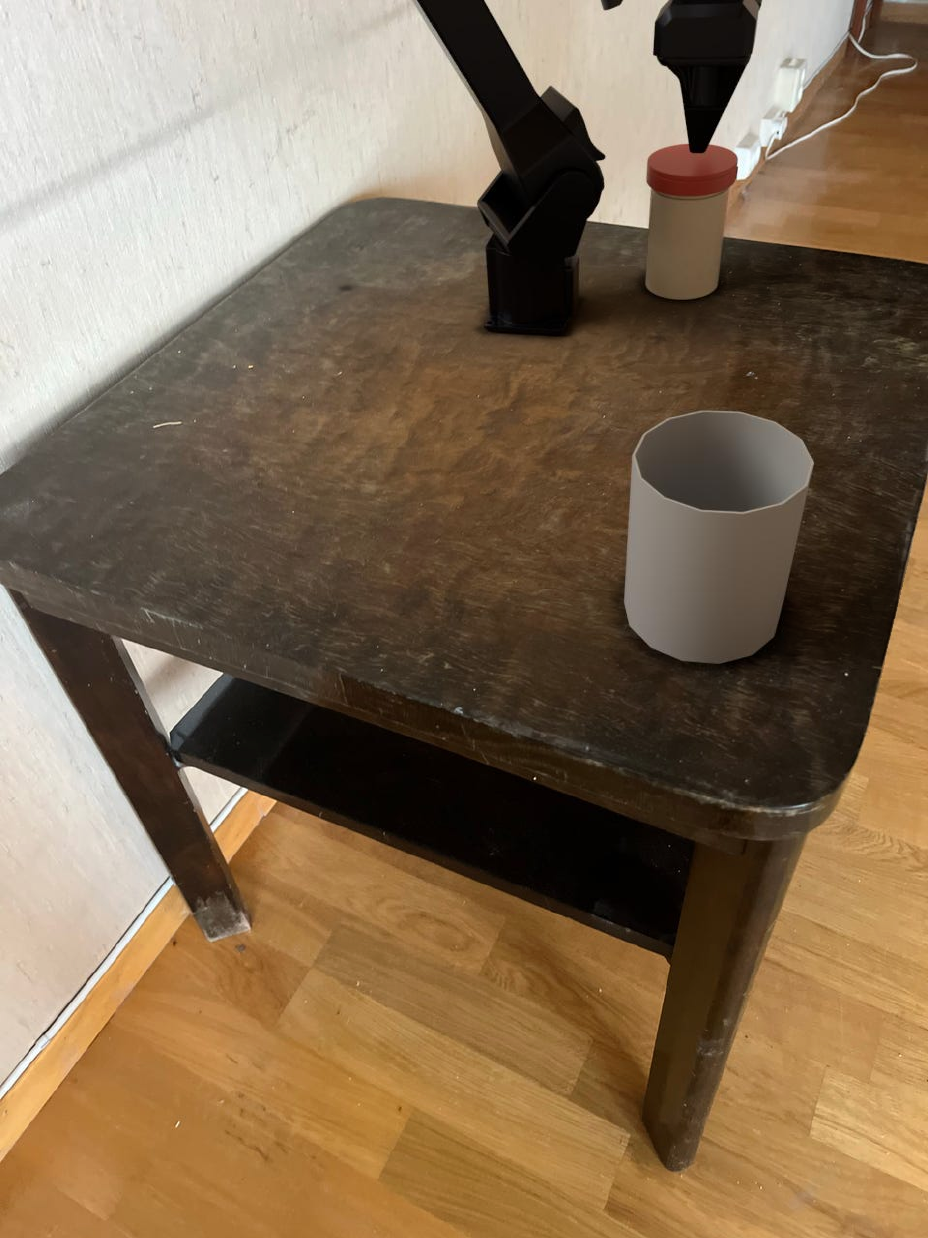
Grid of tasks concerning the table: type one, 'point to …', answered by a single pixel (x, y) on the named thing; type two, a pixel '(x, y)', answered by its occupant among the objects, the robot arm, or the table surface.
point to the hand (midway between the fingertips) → (703, 129)
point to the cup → (713, 533)
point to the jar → (685, 244)
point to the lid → (691, 170)
